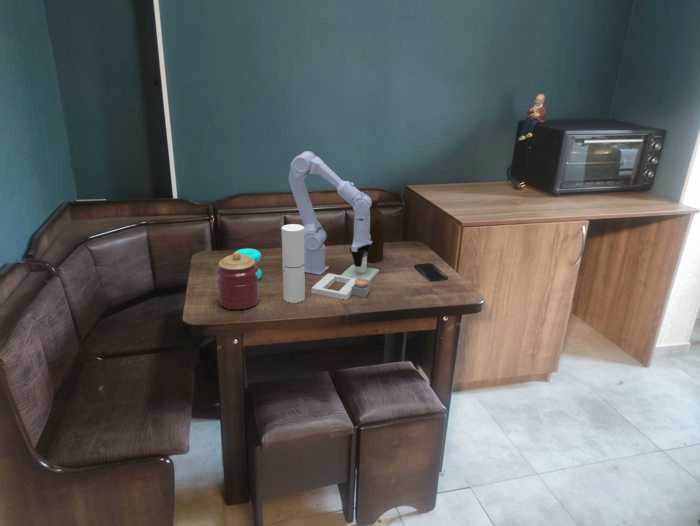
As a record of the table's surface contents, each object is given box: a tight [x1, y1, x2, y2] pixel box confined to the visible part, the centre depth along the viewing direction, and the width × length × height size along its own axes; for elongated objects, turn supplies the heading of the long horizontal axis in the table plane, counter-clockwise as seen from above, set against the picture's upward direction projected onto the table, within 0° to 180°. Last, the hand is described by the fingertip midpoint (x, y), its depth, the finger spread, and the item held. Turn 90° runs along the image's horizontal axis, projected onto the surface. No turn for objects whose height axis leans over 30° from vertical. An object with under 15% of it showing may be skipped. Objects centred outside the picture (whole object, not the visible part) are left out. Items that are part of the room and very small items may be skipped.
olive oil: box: [367, 196, 387, 264], centre depth 208 cm, size 11×11×25 cm
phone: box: [413, 262, 449, 283], centre depth 201 cm, size 8×1×15 cm
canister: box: [216, 251, 260, 310], centre depth 171 cm, size 13×13×18 cm
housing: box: [310, 272, 371, 301], centre depth 184 cm, size 18×14×3 cm
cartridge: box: [353, 251, 368, 273], centre depth 196 cm, size 5×5×7 cm
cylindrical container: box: [281, 223, 306, 304], centre depth 173 cm, size 7×7×25 cm
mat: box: [340, 264, 380, 284], centre depth 197 cm, size 11×11×1 cm
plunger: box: [355, 279, 369, 288], centre depth 182 cm, size 4×4×4 cm
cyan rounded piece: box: [235, 248, 263, 280], centre depth 191 cm, size 10×10×10 cm
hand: (360, 263), depth 196 cm, fingers open, 5 cm apart
